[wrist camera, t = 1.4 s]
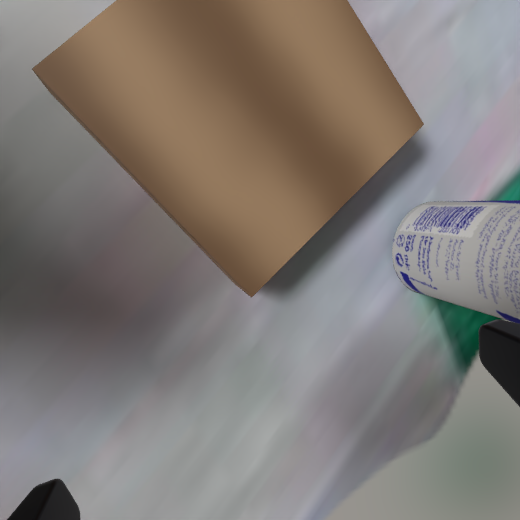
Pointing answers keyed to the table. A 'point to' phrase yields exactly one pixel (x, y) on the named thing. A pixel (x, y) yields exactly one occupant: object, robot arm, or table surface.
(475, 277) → the beverage can
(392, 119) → the stand
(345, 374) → the table surface
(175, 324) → the table surface
